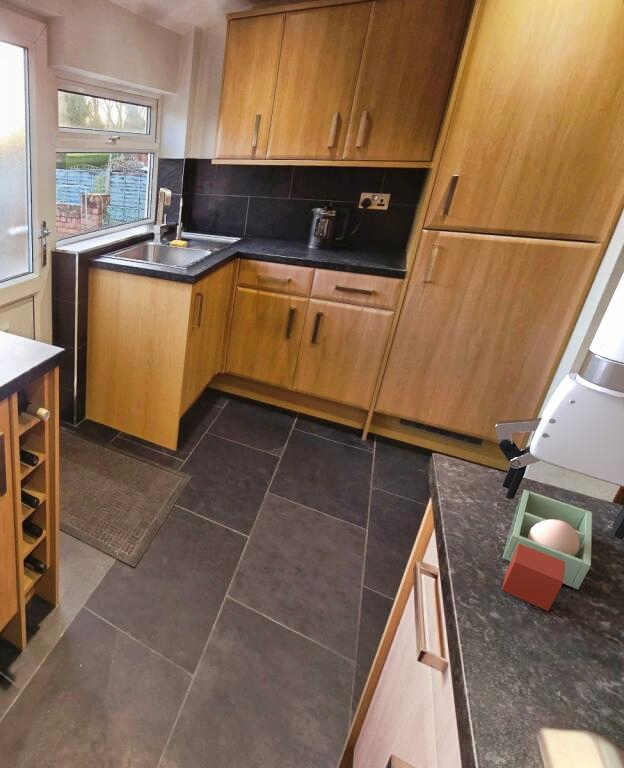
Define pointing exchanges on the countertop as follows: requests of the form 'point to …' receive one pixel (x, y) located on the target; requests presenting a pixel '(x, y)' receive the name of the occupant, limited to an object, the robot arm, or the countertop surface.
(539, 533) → the egg
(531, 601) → the block
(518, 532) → the tray
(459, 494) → the countertop surface
